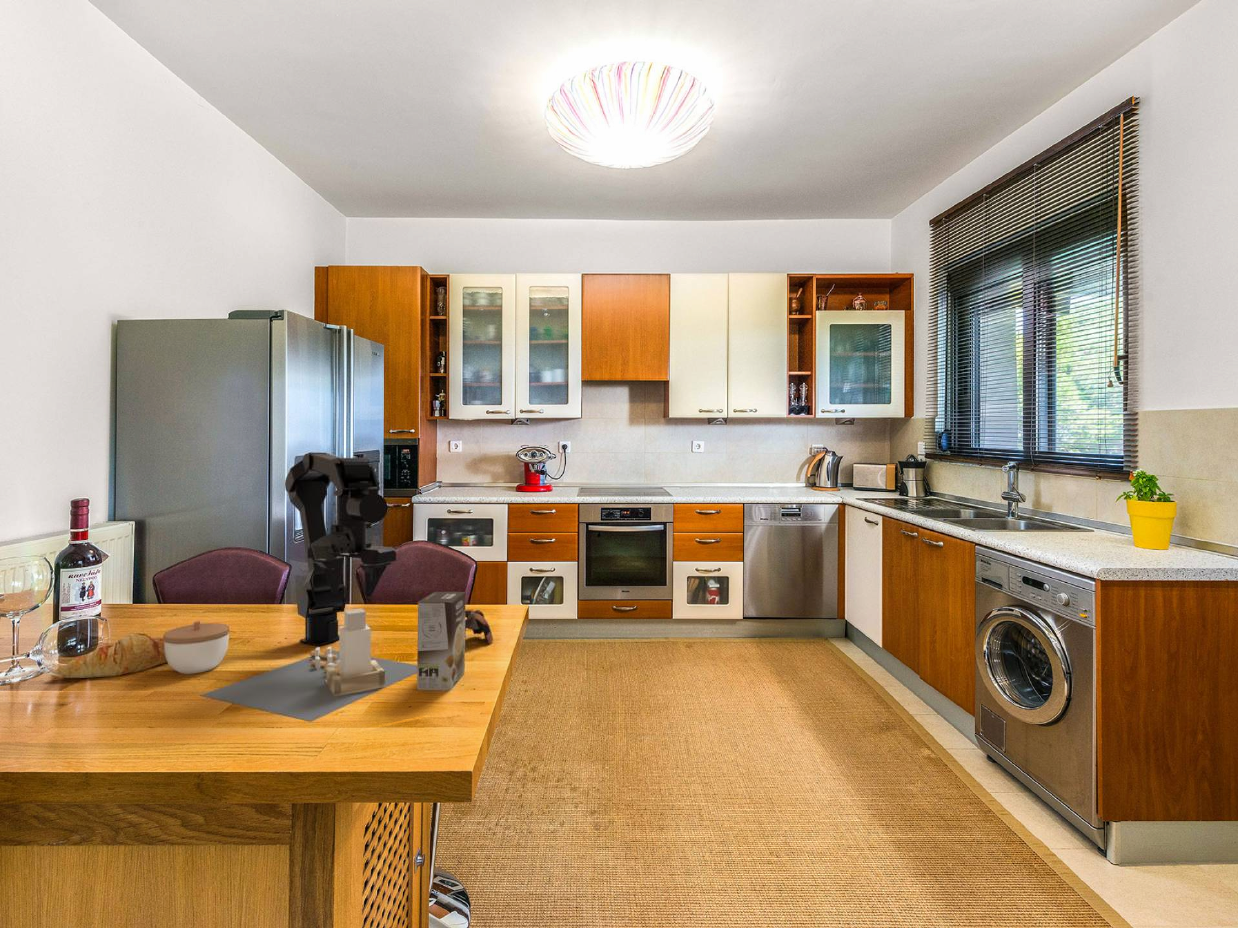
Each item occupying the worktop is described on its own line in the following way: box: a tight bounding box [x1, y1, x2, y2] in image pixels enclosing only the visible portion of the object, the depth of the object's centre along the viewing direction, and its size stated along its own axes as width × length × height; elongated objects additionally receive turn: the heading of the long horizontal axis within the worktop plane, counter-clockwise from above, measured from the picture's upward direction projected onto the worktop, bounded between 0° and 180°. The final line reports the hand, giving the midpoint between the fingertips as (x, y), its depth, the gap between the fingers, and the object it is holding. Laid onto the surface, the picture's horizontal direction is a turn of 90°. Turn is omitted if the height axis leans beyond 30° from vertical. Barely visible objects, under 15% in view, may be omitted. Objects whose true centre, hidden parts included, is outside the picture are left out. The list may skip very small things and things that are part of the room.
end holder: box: [326, 660, 386, 696], centre depth 118 cm, size 8×8×3 cm
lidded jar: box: [162, 620, 230, 675], centre depth 125 cm, size 11×11×9 cm
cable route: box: [309, 646, 339, 675], centre depth 127 cm, size 16×5×2 cm, turn 34°
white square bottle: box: [339, 607, 372, 677], centre depth 117 cm, size 4×4×13 cm
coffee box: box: [416, 591, 466, 691], centre depth 120 cm, size 9×6×16 cm
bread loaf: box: [55, 632, 168, 679], centre depth 126 cm, size 21×10×8 cm, turn 137°
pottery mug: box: [465, 609, 494, 646], centre depth 146 cm, size 12×10×8 cm
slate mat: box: [199, 649, 417, 723], centre depth 119 cm, size 26×28×1 cm
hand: (351, 594), depth 133 cm, fingers open, 9 cm apart
